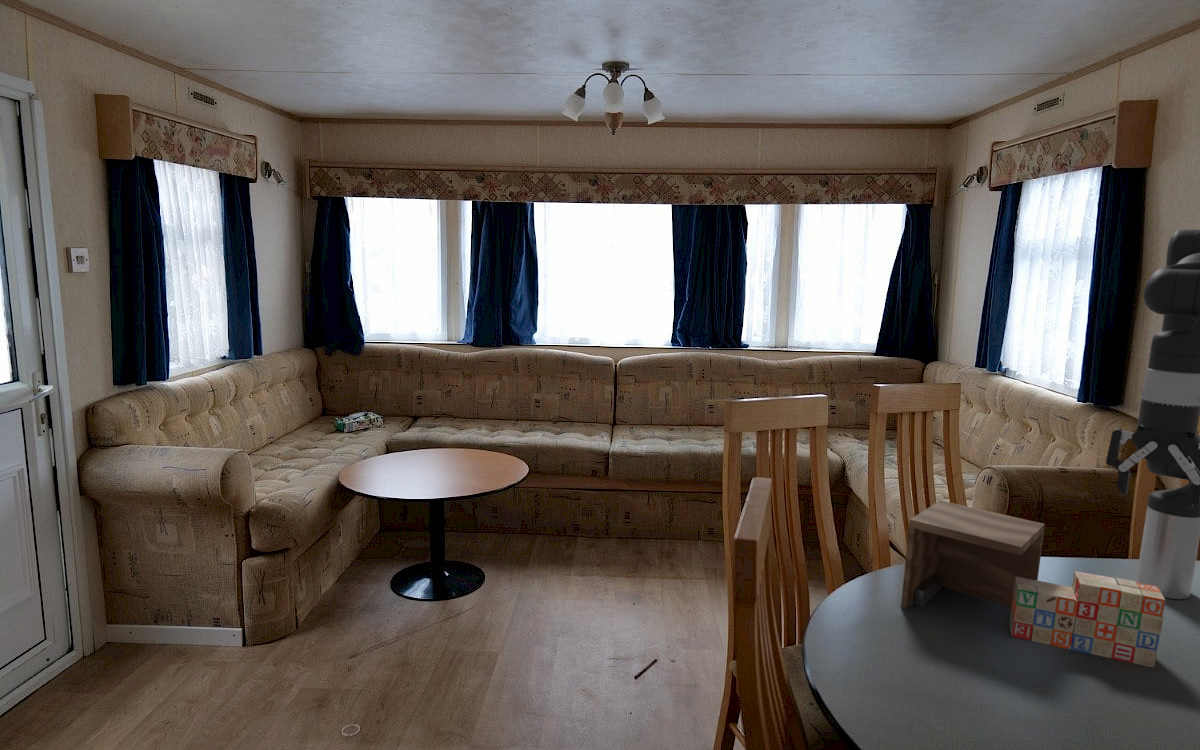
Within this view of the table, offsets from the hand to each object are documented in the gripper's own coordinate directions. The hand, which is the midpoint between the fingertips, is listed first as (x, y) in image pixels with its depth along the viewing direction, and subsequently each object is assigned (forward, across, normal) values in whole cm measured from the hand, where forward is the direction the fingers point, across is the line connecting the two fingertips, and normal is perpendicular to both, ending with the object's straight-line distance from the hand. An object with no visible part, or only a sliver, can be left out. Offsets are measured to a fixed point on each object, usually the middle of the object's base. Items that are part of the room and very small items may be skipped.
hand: (1155, 500), depth 122 cm
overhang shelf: (+29, +26, -5) cm, 40 cm away
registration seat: (+29, +34, -5) cm, 45 cm away
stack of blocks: (+30, +8, -5) cm, 31 cm away
